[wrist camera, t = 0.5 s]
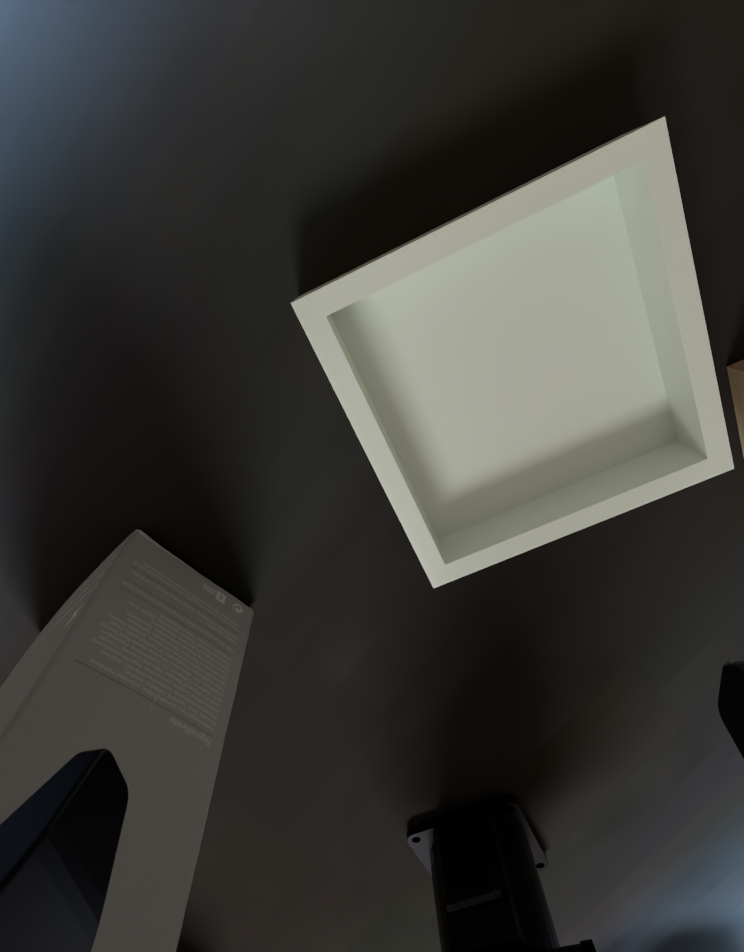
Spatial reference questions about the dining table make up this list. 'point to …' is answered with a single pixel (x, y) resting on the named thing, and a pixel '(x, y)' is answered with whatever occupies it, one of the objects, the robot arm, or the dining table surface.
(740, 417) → the frame
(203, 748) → the skincare box
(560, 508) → the tray
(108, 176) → the dining table surface
